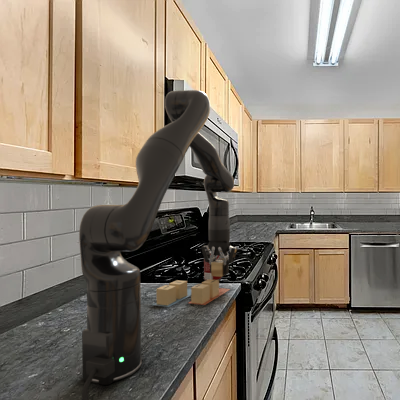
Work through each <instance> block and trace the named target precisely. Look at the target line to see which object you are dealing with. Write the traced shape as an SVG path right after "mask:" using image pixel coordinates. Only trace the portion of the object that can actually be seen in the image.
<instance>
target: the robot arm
mask: <svg viewBox="0 0 400 400" xmlns="http://www.w3.org/2000/svg"><path fill="white" fill-rule="evenodd" d="M164 105H165V106H164V108H165V111H166V114H167V116H168V119H169V120H170V123H168V124H166V125H164V126H163V127H161V128H159V129H158V130H157V131H154V132H153V133H152V134H151V135H150V136H149V137H148V138H147V140H146V141H145V142H144V144H143V145H142V147H141V148H140V150H139V151H138V153H137V154H136V155H137V156H136V157H135V171H136V176H137V179H138V184H137V187H136V189H135V191H134V193H133V195H132V196H131V198H130V199H129V200H128V202H126V203H125V204H98V205H94V206H91V207H90V208H88V209H87V210H86V211H85V212H84V214H83V215H82V218H81V220H80V224H79V230H78V241H79V255H80V267H81V273H82V276H83V278H84V280H85V282H86V329H83V330H82V332H81V352H82V353H81V355H82V358H81V359H82V360H81V361H82V363H81V364H82V365H81V367H82V381H83V382H84V385H83V387H82V391H81V400H89V387H90V385H91V383H94V384H97V385H98V384H99V385H104V386H110V385H111V384H113V383H115V382H117V381H121V380H123V379H126V378H128V377H130V376H132V375H133V374H135V373H136V372H138V371H139V370H140V368H141V367H142V365H143V360H142V312H141V311H142V308H141V304H142V303H141V300H142V299H141V297H142V294H141V291H142V290H141V288H142V287H141V280H142V279H141V270H140V268H139V267H138V266H136V265H134V264H132V263H130V262H129V261H127V260H126V259H125V257H123V255H122V253H127V252H129V253H130V252H135V251H136V250H139V249H140V248H141V247H142V246H143V245H144V243H145V242H146V241H147V239H148V237H149V235H150V233H151V231H152V229H153V225H154V223H155V221H156V218H157V215H158V212H159V209H160V208H161V204H162V203H163V199H164V197H165V195H166V193H167V191H168V189H169V187H170V185H171V183H172V181H173V180H174V177H175V175H176V173H177V172H178V170H179V169H180V167H181V164H182V162H183V160H184V158H185V156H186V154H187V152H188V150H189V149H191V151H192V153H193V154H194V156H195V159H196V160H197V162H198V164H199V166H200V169H201V171H202V173H203V174H204V175H205V177H204V180H203V186H204V190H205V193H206V194H205V195H206V198H207V201H208V244H207V245H203V246H201V252H202V256H203V260H204V259H205V262H208V263H209V264H210V273H211V262H213V261H216V258H217V257H218V255H219V256H221V260H222V261H223V264H224V265H223V275H224V276H227V275H228V274H229V272H230V264H233V263H234V262H235V259H236V255H237V252H238V246H232V245H231V242H230V240H231V238H230V237H231V230H230V229H231V221H230V204H229V203H230V202H229V200H228V199H225V198H221V197H219V196H218V194H217V193H230V192H232V190H234V187H235V180H234V179H235V178H234V177H233V174H232V172H230V171H229V169H228V168H227V167H226V166H225V165H224V163H222V160H221V158H220V154H219V153H218V150H217V148H216V147H215V146H214V145H213V144H212V142H210V141H209V140H208V139H207V138H206V137H205V136H204V135H202V134H201V132H200V131H201V130H202V128H203V127H204V126H205V124H206V123H207V121H208V119H209V116H210V113H211V101H210V99H209V96H208V95H207V94H206V93H205V92H204V91H201V90H197V89H188V90H187V89H185V90H183V89H182V90H171V91H169V92H168V93H167V94H166V96H165V100H164ZM209 251H211V255H210V253H209Z"/></svg>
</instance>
